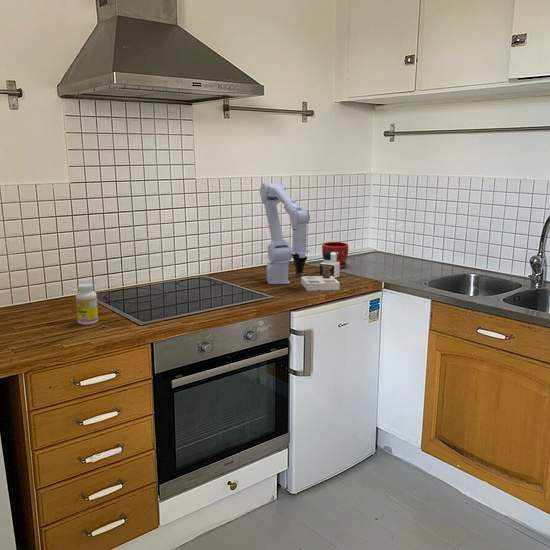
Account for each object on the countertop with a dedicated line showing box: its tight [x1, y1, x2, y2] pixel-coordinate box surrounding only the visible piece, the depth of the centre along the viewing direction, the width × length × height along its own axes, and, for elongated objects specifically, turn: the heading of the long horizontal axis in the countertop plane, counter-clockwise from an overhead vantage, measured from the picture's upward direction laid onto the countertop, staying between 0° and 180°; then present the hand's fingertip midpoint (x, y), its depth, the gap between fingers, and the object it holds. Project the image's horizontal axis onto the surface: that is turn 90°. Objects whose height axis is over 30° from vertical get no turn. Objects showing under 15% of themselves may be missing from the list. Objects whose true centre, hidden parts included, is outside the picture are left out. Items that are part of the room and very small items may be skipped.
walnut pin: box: [294, 266, 304, 278], centre depth 231 cm, size 3×3×7 cm
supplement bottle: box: [75, 283, 99, 326], centre depth 185 cm, size 7×7×13 cm
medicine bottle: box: [319, 252, 341, 279], centre depth 255 cm, size 7×7×12 cm
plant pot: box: [321, 241, 349, 269], centre depth 280 cm, size 13×13×12 cm
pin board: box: [300, 266, 341, 292], centre depth 238 cm, size 14×14×8 cm
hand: (299, 271), depth 232 cm, fingers closed on walnut pin, 3 cm apart
